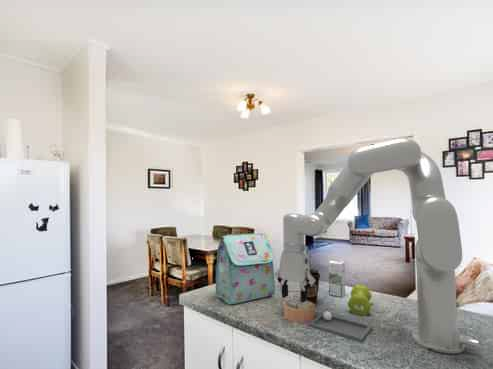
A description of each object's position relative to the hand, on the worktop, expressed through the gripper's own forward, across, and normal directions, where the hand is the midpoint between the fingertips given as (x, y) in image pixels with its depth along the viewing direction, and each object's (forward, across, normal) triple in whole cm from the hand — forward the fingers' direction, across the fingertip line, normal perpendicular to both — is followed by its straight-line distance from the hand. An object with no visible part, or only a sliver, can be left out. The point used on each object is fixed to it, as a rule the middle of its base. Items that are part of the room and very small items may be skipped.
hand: (294, 298), depth 101 cm
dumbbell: (+7, -16, -22) cm, 28 cm away
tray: (+6, -16, 0) cm, 17 cm away
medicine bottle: (+6, +15, -27) cm, 32 cm away
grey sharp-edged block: (+6, 0, 0) cm, 6 cm away
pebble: (+6, -11, -3) cm, 13 cm away
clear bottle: (+6, -4, -32) cm, 33 cm away
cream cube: (+6, -4, -1) cm, 7 cm away
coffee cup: (+6, +1, -15) cm, 17 cm away
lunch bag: (+6, +26, -5) cm, 28 cm away
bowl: (+6, -2, 0) cm, 6 cm away
